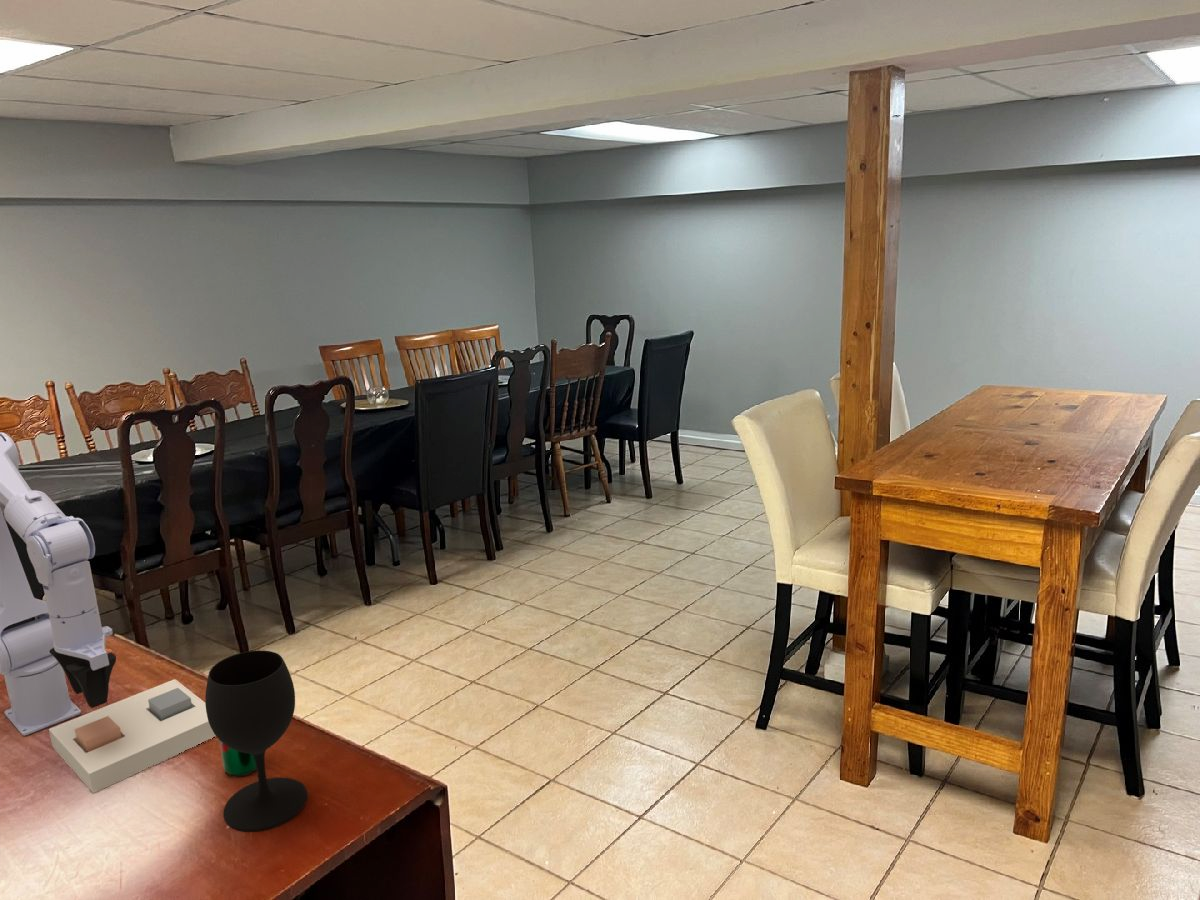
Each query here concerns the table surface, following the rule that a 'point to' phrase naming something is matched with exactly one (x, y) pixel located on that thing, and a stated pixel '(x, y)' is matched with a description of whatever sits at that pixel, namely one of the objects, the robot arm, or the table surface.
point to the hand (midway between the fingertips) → (91, 697)
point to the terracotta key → (98, 734)
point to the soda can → (237, 761)
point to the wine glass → (255, 733)
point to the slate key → (169, 704)
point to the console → (132, 737)
